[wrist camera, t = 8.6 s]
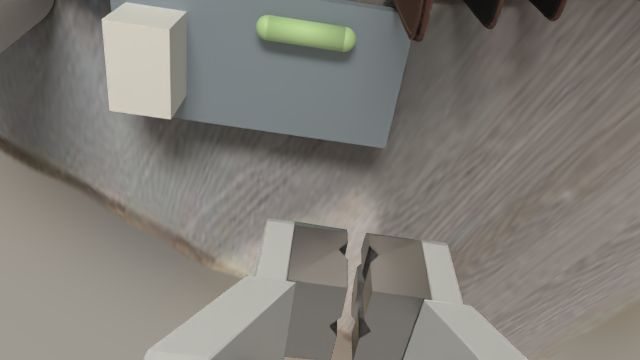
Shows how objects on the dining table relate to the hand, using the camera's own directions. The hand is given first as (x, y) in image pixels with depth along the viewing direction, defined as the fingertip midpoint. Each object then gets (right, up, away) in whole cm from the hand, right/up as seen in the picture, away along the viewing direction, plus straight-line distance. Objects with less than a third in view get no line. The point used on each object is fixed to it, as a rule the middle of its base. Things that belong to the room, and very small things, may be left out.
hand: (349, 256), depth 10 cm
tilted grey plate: (-5, +10, +27) cm, 29 cm away
